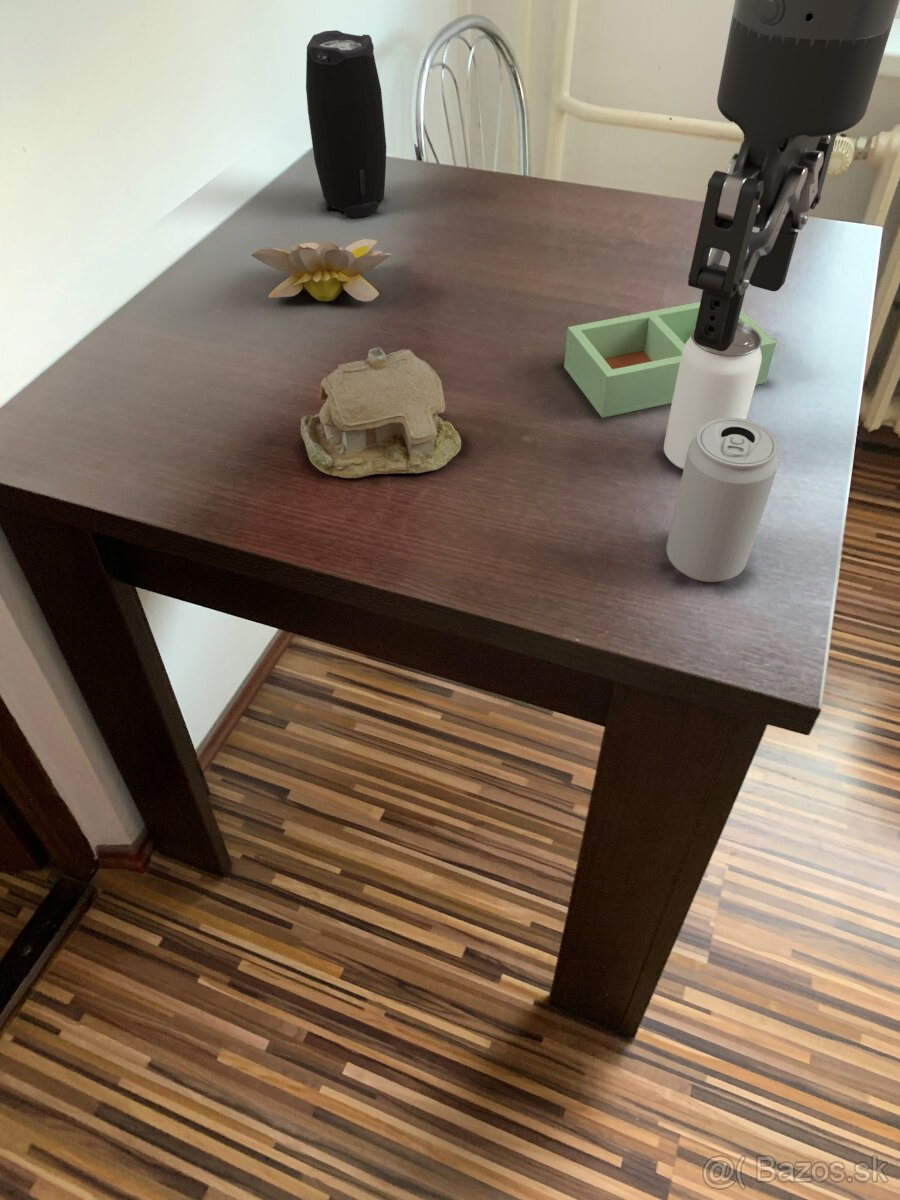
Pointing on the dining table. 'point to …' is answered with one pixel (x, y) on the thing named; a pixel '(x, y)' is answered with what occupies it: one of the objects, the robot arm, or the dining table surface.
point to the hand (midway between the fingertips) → (739, 314)
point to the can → (711, 388)
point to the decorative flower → (325, 269)
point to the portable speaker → (346, 121)
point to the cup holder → (638, 357)
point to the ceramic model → (380, 418)
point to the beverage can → (722, 498)
